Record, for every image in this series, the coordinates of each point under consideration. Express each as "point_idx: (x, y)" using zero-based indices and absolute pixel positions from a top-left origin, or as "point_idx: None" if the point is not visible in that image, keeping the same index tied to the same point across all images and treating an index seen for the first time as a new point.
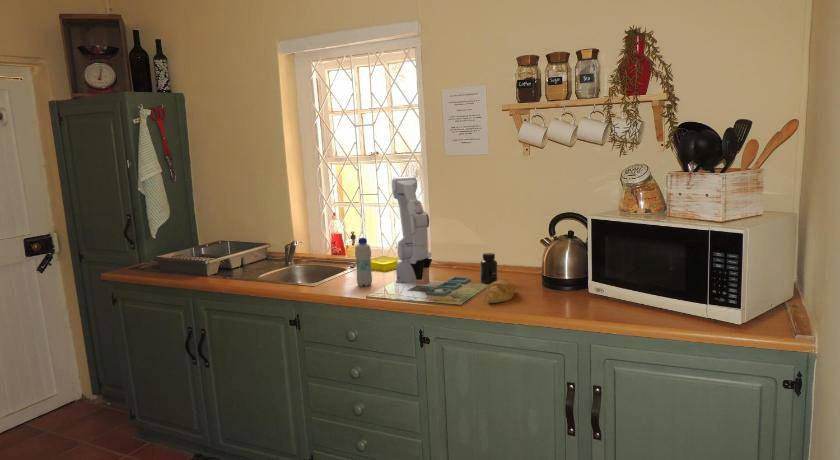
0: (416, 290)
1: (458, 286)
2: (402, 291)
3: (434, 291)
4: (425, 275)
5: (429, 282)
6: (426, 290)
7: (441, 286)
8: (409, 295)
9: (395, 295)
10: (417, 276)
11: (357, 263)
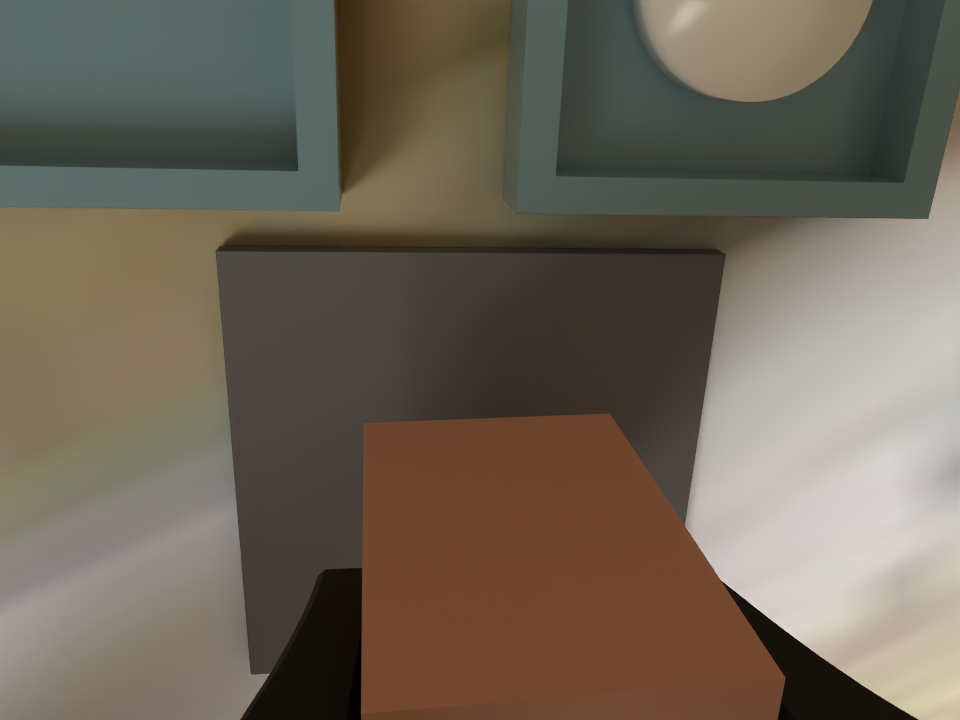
0: None
1: None
2: None
3: (830, 59)
4: (653, 543)
5: (364, 425)
6: (588, 339)
7: (334, 85)
8: (900, 483)
9: (916, 664)
10: None
11: None
